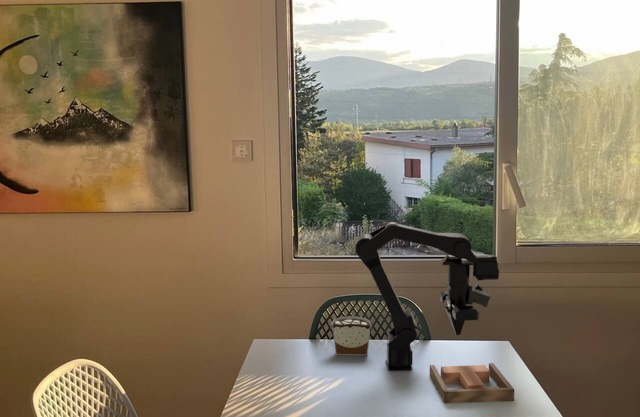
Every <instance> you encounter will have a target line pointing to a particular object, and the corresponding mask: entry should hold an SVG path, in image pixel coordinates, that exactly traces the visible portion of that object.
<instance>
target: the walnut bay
mask: <svg viewBox="0 0 640 417" xmlns="http://www.w3.org/2000/svg"><path fill="white" fill-rule="evenodd" d="M488 370H489V371H490V377H491V379H492V380H493V381H494V383H495V384H496V386H497V387H486V388H485V387H484V388H478V389H463V388H453V389H452V388H451V389H450V388H449V389H448V387H447V385H446V383H444V382H443V380H442V378H441V374H440V373H439V371H438V370H437V368H436V366H435V364H429V377H430V379H431V381H432V382H433V385H434V387H435V389H436V391H437V393H438V394H439V396H440V398H441V400H442V402H443V404H455V403H456V404H463V403H464V404H465V403H466V404H467V403H469V404H470V403H490V402H491V403H493V402H494V403H495V402H514V401H515V388H514V387H513V386H512V385H511V383H510V382H509V381H508V380H507V379H506V377H505V376H504V375H503V373H502V371H500V370H499V368H498V367H497V366H496V364H494V362H489V363H488Z"/></svg>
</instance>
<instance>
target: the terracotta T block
mask: <svg viewBox="0 0 640 417" xmlns="http://www.w3.org/2000/svg"><path fill="white" fill-rule="evenodd" d="M440 376H441V378H442V380H443V382H444V383H445V384H459V385H460V386H461V389H478V388H485V384H484V383H489V382H490V377H491V376H490V371H489V367H487V366H486V365H485V364H480V365H479V364H475V365H473V364H472V365H450V366H449V365H448V366H447V365H445V366H440Z"/></svg>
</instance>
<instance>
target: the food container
mask: <svg viewBox="0 0 640 417" xmlns="http://www.w3.org/2000/svg"><path fill="white" fill-rule="evenodd" d="M330 329H332V332H333V334H332V335H333V342H334V350H335V355H336V356H366V355H367V356H368V355H369V354H368V353H369V345H370V344H369V343H370V334H371V329H373V324H372V323H371V321H370V319H367V318H364V317H361V316H342V317H338V318H335V319H334V320H333V321H332V322H331V324H330Z"/></svg>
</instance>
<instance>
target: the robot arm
mask: <svg viewBox="0 0 640 417" xmlns="http://www.w3.org/2000/svg"><path fill="white" fill-rule="evenodd" d="M394 239H396V240H400V241H405V242H409V243H414V244H419V245H421V246H427V247H431V248H434V249H437V250H439V251H441V252H443V253H445V256H444V257H443V258H442V259H441V260H440V262H441V265H443V266H447V267H448V268H447V272H448V273H447V281H445V286H447V290H442V291H441V292H440V293H439V301H440V302H441V303H445V301H446V303H447V306H445V307H444V309H445V310H444V311H446V314H447V316H448V319H449V321H450V323H451V326H452V329H453V331H454V333H455V335H456V336H461V334H462V331H463V328H464V324H465V322H466V321H478V320H479V319H480V312H479V311H478V310H477V309H476V308H475V306H473V304H478V305H481V306H482V307H485V308H487V307H488V306H489V302H490V301H491V294H489V293H488V292H486V291H485V290H483V287H482V286H481V285H479V284H476V283H475V284H474V285H471V284H470V275H471V277H473V278H475V281H499V277H500V269H499V266H498V265H499V263H498V257H497V255H496V254H490V255H477V254H476V253H475V251H472V244H471V242H470V240H469V239H468V238H467V236H466V235H465V234H463V233H459V232H435V231H431V230H426V229H422V228H418V227H413V226H411V225H410V226H409V225H405V224H400V223H397V222H396V221H390V222H388V223H387V224H385V225H383V226H381V227H379V228H377V229H374V230H372V231H371V232H370V233H364V234H361V235H359V236H358V237H357V239H356V240H355V253H356V255H357V257H358V258H359V260H360V261H361V262H362V264H364V266H365V267H366V268H367V269H368V270H369V271H370V274H371V276H372V278H373V280H374V282H375V284H376V287H377V289H378V291H379V293H380V295H381V297H382V299H383V301H384V303H385V306H386V307H387V310H388V312H389V314H390V317H391V318H390V319H391V322H392V325H393V327H392V328H391V329H390V330H388V332H387V340H388V342H387V343H386V359H385V364H386V366H387V369H388V370H389V371H408V370H409V371H411V370H412V369H413V367H412V366H413V350H412V348H411V347H412V346H411V344H412V343H413V342H415V340H416V339H417V336H418V332H417V330H418V324H417V319H416V318H414V315H413V313H412V309H411V308H409V309H407V310H406V309H405V308H404V306H403V305H402V303H401V301H400V299H399V297H398V294H397V292H396V291H395V288H394V287H393V284H392V282H391V280H390V278H389V275H388V274H387V271H386V270H385V267H384V265H383V263H382V259H381V256H380V251H379V250H380V249H382V248H383V247H384V246H386V245H387V244H388V243H389V242H391V241H393V240H394ZM450 256H452V257H450ZM470 273H471V274H470Z"/></svg>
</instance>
